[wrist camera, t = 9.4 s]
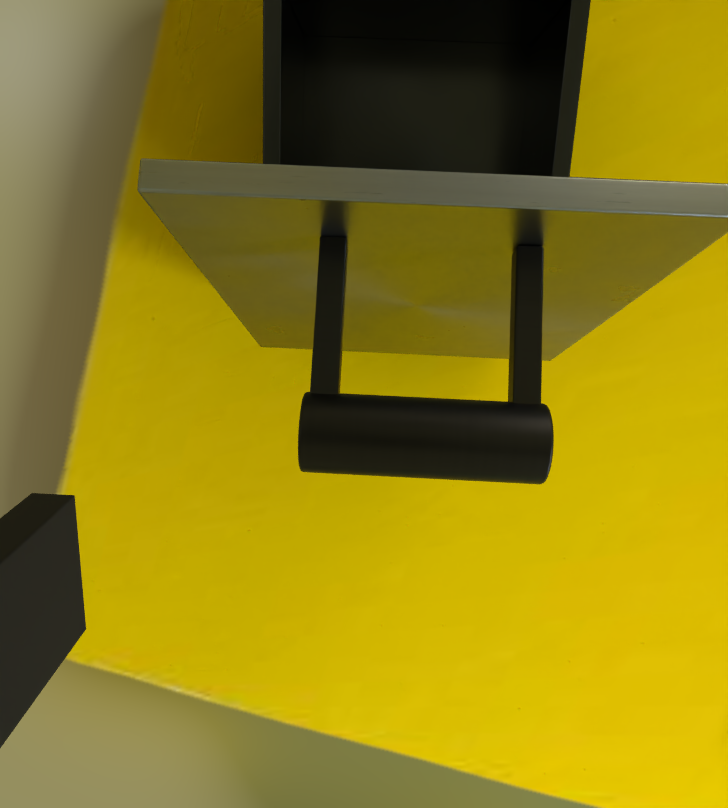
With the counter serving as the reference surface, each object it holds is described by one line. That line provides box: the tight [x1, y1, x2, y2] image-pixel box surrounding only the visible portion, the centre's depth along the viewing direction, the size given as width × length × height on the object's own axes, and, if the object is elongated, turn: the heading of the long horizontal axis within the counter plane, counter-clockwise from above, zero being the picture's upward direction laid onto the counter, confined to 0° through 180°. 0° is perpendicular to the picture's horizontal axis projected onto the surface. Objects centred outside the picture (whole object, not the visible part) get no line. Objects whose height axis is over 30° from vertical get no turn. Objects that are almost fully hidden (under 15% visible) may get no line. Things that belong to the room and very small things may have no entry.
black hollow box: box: [263, 0, 591, 177], centre depth 34 cm, size 16×14×9 cm
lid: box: [138, 159, 728, 484], centre depth 23 cm, size 17×14×7 cm
